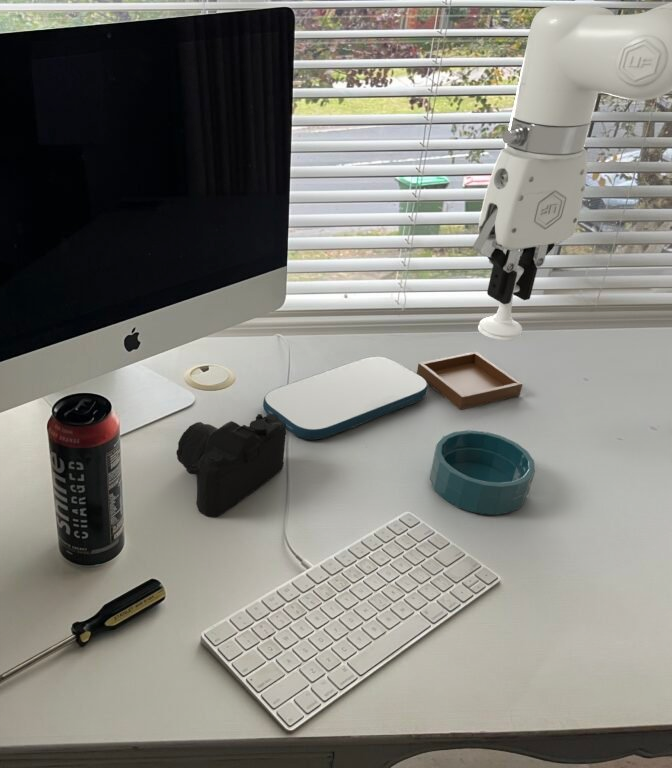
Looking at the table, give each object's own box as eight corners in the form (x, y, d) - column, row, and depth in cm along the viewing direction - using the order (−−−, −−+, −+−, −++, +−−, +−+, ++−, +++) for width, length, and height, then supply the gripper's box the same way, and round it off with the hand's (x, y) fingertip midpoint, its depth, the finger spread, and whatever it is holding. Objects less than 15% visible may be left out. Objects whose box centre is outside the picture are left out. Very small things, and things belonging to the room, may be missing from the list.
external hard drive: (378, 363, 122) (379, 351, 121) (436, 397, 113) (438, 385, 112) (253, 407, 111) (254, 395, 110) (306, 448, 103) (308, 436, 102)
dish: (484, 451, 102) (491, 422, 100) (547, 504, 93) (556, 474, 91) (410, 470, 99) (416, 440, 97) (468, 526, 90) (476, 495, 88)
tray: (473, 362, 122) (475, 351, 121) (519, 395, 113) (522, 384, 112) (416, 374, 119) (418, 362, 118) (459, 409, 110) (462, 397, 109)
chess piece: (475, 336, 94) (493, 256, 89) (479, 318, 98) (497, 241, 92) (520, 343, 92) (541, 263, 87) (523, 326, 96) (543, 247, 91)
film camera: (234, 437, 105) (236, 379, 101) (293, 468, 99) (298, 408, 95) (152, 489, 96) (151, 427, 92) (212, 526, 90) (213, 463, 86)
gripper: (510, 153, 78) (473, 322, 87) (633, 137, 82) (586, 299, 92) (459, 135, 84) (430, 295, 93) (577, 121, 88) (538, 275, 98)
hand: (508, 296), depth 92 cm, fingers closed on chess piece
